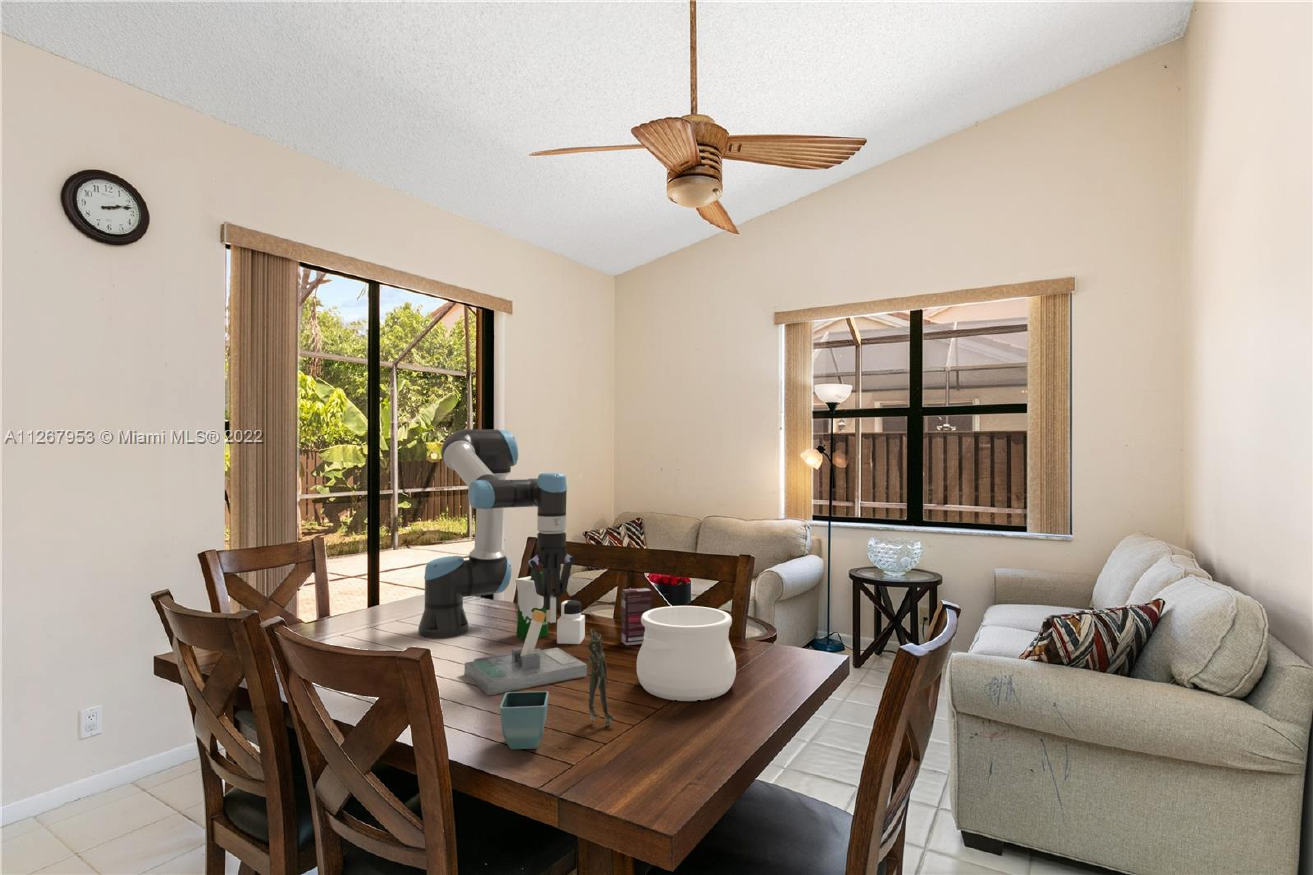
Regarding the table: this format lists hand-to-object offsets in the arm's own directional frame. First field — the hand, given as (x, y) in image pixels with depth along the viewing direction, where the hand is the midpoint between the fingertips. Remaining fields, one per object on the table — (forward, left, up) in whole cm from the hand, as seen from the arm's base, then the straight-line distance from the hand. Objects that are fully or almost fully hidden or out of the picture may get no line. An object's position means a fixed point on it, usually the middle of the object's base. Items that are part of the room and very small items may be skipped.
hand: (551, 621), depth 182 cm
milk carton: (-34, +9, -13) cm, 37 cm away
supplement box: (-11, +33, -13) cm, 37 cm away
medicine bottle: (-23, +17, -13) cm, 31 cm away
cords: (-11, -7, -13) cm, 18 cm away
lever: (0, -7, -8) cm, 11 cm away
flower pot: (+39, -23, -13) cm, 47 cm away
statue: (+39, -6, -13) cm, 42 cm away
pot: (+29, +23, -13) cm, 39 cm away
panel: (0, -7, -13) cm, 15 cm away
